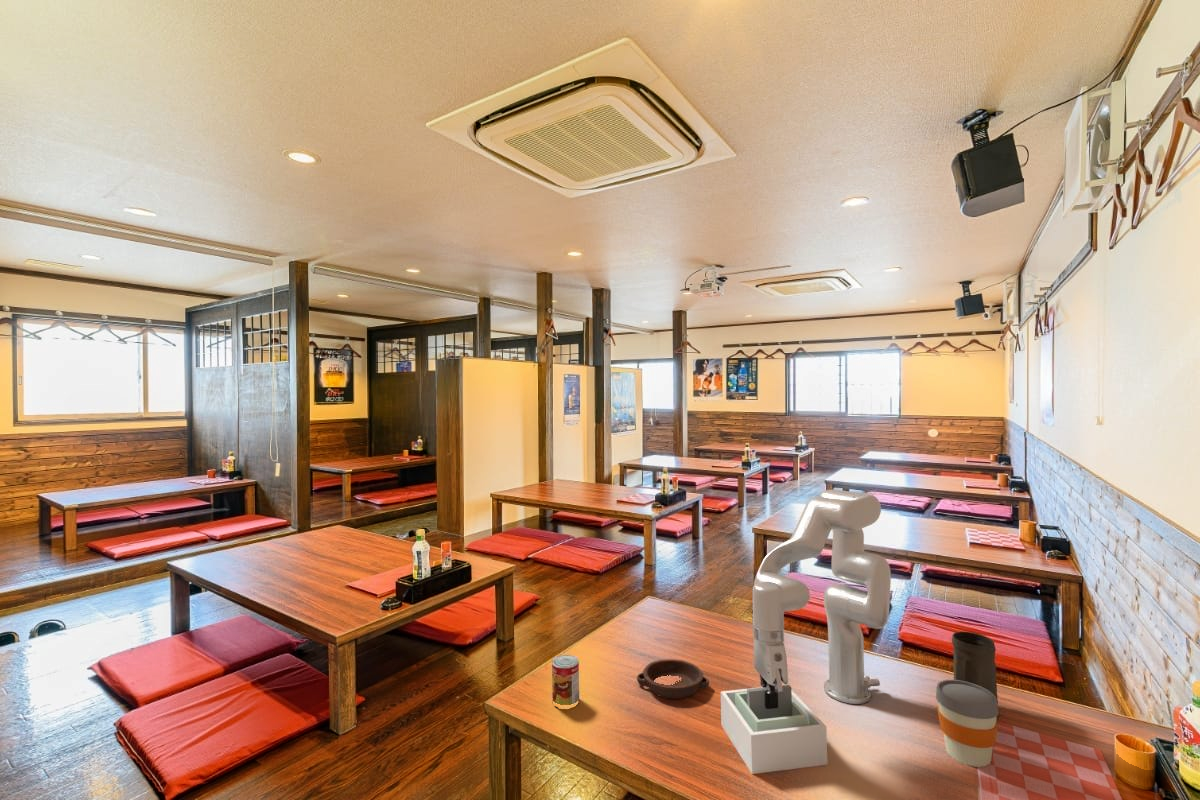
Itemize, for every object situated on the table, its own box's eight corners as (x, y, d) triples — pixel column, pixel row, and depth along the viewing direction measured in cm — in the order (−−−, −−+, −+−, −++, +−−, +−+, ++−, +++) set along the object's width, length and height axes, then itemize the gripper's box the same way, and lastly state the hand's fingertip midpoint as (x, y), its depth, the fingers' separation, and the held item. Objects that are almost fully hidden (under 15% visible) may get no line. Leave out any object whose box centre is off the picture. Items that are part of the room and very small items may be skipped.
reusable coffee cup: (1013, 765, 122) (1011, 701, 123) (973, 777, 119) (971, 711, 119) (962, 734, 134) (961, 675, 135) (925, 743, 131) (923, 683, 131)
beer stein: (957, 692, 154) (953, 625, 153) (1002, 706, 146) (999, 636, 145) (944, 718, 143) (940, 647, 142) (992, 735, 135) (989, 659, 134)
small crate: (781, 710, 139) (780, 673, 139) (807, 741, 126) (806, 699, 127) (735, 715, 137) (734, 677, 138) (757, 747, 124) (756, 705, 125)
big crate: (787, 717, 143) (786, 684, 143) (827, 764, 124) (826, 726, 124) (721, 725, 140) (720, 691, 140) (752, 774, 121) (751, 735, 121)
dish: (712, 706, 149) (711, 689, 149) (635, 702, 152) (634, 685, 152) (707, 675, 166) (706, 659, 166) (638, 672, 169) (638, 656, 169)
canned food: (556, 693, 157) (556, 653, 157) (582, 696, 155) (581, 655, 156) (549, 708, 149) (548, 666, 149) (575, 711, 148) (574, 668, 148)
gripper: (798, 645, 125) (799, 722, 125) (768, 619, 141) (769, 688, 140) (768, 647, 124) (770, 725, 124) (741, 621, 139) (743, 691, 139)
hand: (769, 705), depth 132 cm, fingers closed on small crate, 1 cm apart
